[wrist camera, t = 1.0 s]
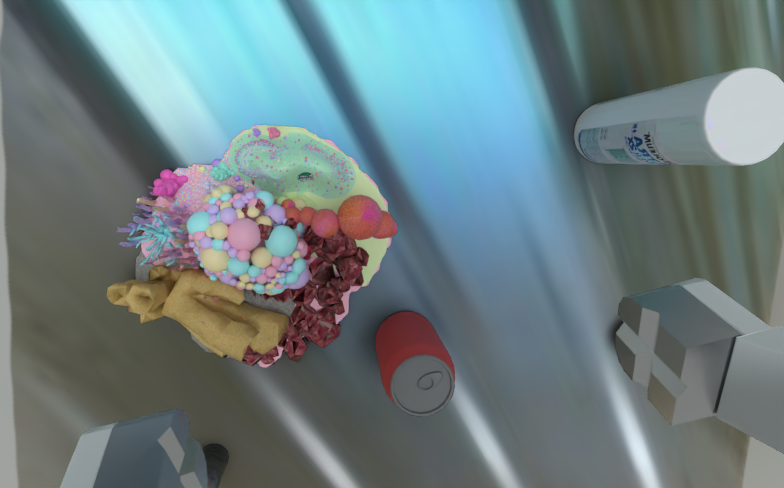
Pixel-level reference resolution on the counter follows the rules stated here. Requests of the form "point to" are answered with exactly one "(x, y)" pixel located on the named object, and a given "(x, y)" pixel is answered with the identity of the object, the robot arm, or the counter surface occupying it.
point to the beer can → (414, 364)
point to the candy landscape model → (258, 245)
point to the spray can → (689, 122)
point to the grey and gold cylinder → (215, 463)
